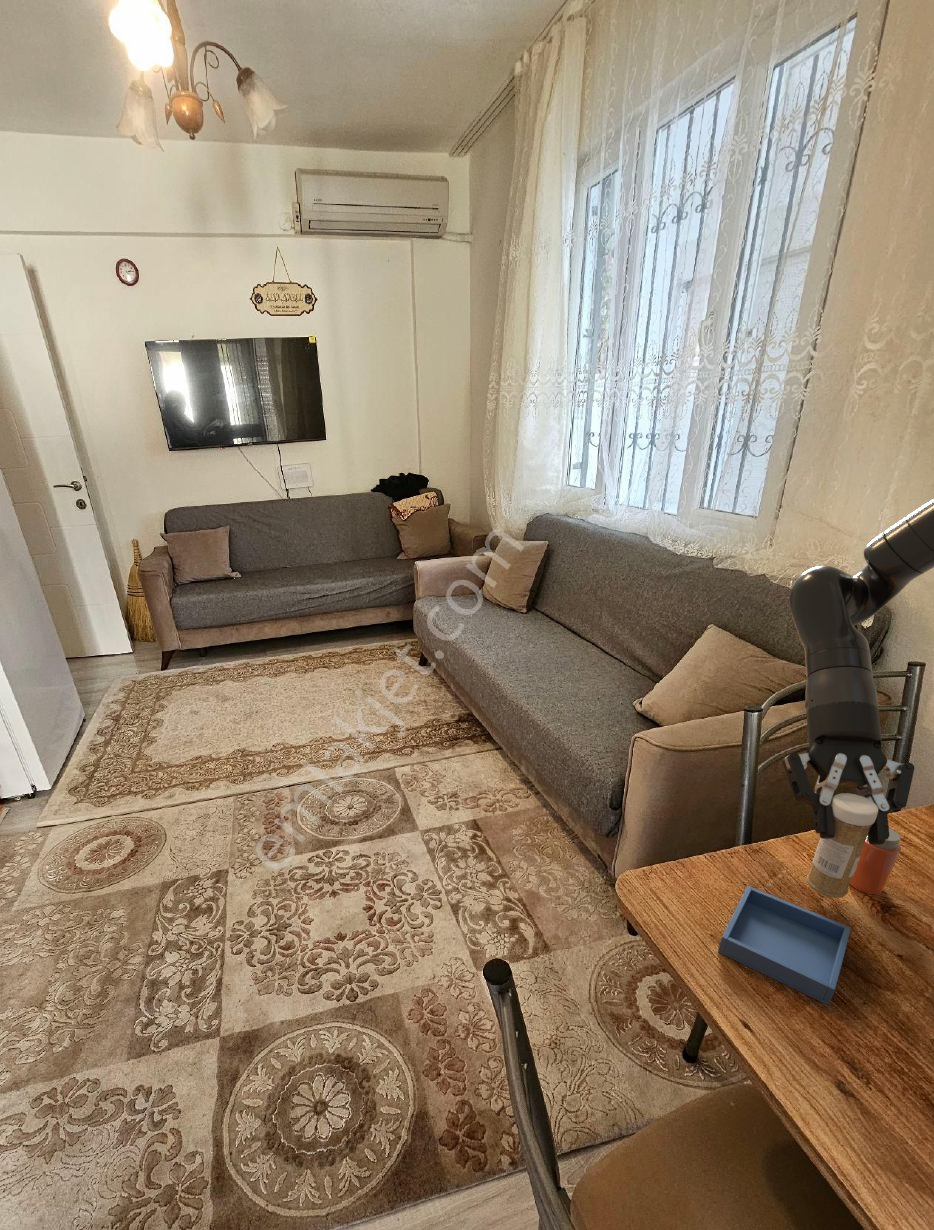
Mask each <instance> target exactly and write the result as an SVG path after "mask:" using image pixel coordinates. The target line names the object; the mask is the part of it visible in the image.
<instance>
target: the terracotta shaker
mask: <svg viewBox="0 0 934 1230" xmlns="http://www.w3.org/2000/svg"><path fill="white" fill-rule="evenodd" d="M901 839H902V837H901V835H900V834H899V833H898V832H897V831H895V830H894V829H891V828H889V838H888V839H886V840H885V842H884V844H880V845H873V844H870V843H869V840H868V836H867V838H866V841H865V844H864V846H863V849H862V852H861V855H860V859H859V862H858V865H857V867H856V870H855V873H854V875H853V876H852V879H851V882H850V884H849V886H851V887H852V888H853V889H855V890H858V891H859V892H862V893H865V894H868V895H880V894H882V893H883V892H884V890H885V888H886V885H887V883H888V880H889V878H890V876H891V873H892V871H893V869H894V866H895V864H896V863H897V859H898V857H899V855H900V852H901V850H902V845H901V844H900V842H901Z"/></svg>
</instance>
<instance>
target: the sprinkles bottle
mask: <svg viewBox="0 0 934 1230" xmlns="http://www.w3.org/2000/svg"><path fill="white" fill-rule="evenodd" d="M829 807H832V808H833V820H834V838H831V839H822V838H821V837H820V838H819V841H818V844H817V846H816V850H815V853H814V856H813V859H812V864H811V867H810V870H809V873H808V874H807V876H806V882H807V885H808V886H809V887H810V889H812V890H813V891H815V892H816V893H818V894H820V895H822V896H824V897H828V898H832V899H833V898H835V899H841V898H844V897H845V896H847V894H848V893H849V887H850V882H851V879H852V876H853V875H854V873H855V870H856V867H857V865H858V862H859V859H860V855H861V852H862V849H863V846H864V844H865V841H866V838H867V836H868V833H869V830H870V827H871V826H872V824H873V823H874V822H875V820H876V817H877V814H878V807H877V805H876V804H875V803H873V802H872V801H871V800H869V799H867V798H865V797H862V796H859V795H858V794H855V793H848V792H842V793H837V794H835V795H833V797H832V800H831V803H830V804H829Z"/></svg>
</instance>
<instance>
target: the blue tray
mask: <svg viewBox="0 0 934 1230" xmlns="http://www.w3.org/2000/svg"><path fill="white" fill-rule="evenodd" d="M851 931H852V927H850V926H849V925H845V924H843V923H841V922H838V921H835V920H833V919H830V918H828V917H826V916H824V915H821V914H819V913H816V912H813V911H812V910H809V909H806V908H804V907H801V906H800V905H799V906H798V905H796V904H795V903H791V902H789V901H787V900H784V899H782V898H779V897H777V896H774V895H772V894H770V893H767V892H765V891H763V890H760V889H757V888H755V887H752V886H750V885H746V888H745V890H744V891H743V894H742V895H741V898H740V899H739V901H738V904H737V905H736V908H735V909H734V912H733V914H732V915H731V918H730V920H729V922H728V924H727V926H726V928H725V930H724V932H723V933H722V935H721V939H720V943H719V946H718V950H717V952H718V953H719V954H721V955H723V956H725V957H727V958H730V959H732V960H734V961H736V962H738V963H740V964H742V965H743V966H746V967H748V968H750V969H752V970H754V971H757V972H759V973H760V974H762V975H764V976H767V977H769V978H771V979H772V980H775V981H777V982H779V983H781V984H783V985H785V986H787V987H789V988H791V989H793V990H795V991H797V992H799V993H802V994H804V995H806V996H808V997H811V999H814V1000H816V1001H818V1002H820V1003H822V1004H824V1005H826V1006H829V1005H830V1004H831V1001H832V999H833V996H834V994H835V992H836V989H837V984H838V982H839V981H838V980H839V977H840V973H841V970H842V965H843V962H844V958H845V954H846V950H847V947H848V943H849V938H850V934H851Z"/></svg>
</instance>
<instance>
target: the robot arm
mask: <svg viewBox="0 0 934 1230" xmlns="http://www.w3.org/2000/svg"><path fill="white" fill-rule="evenodd" d="M863 558H864V561H865V562H866V565H865V566H864V567H863V568H862V569H861V570H860V571H859V572H857V573H856V574H854V575H852V574H850V573H848V572H845V571H844V570H841V568H840V569H839V568H838V567H834V566H831V565H817V566H813V567H811V568H809V569H807V570H805V571H803V572H802V573H801V574H800V575H798V577H797V579H796V580H795V581H794V583H793V585H792V587H791V589H790V593H789V608H790V613H791V618H792V621H793V622H794V627H795V629H796V632H797V635H798V637H799V640H800V642H801V645H802V647H803V649H804V661H805V673H806V674H805V676H806V678H805V679H806V680H805V682H806V683H805V692H804V693H805V695H804V697H805V698H804V699H805V701H804V708H805V713H806V714H805V715H806V730H807V743H808V748H807V750H806V752H805V753H798V752H791V753H790V754H788V755H787V756H785V757H783V758H782V760H781V763H782V766H783V769H784V772H785V774H786V777H787V780H788V783H789V786H790V788H791V790H792V793H793V797H794V799H795V800H796V801H797V802H799V803H804V804H807V805H809V806H810V807H811V808H812V811H813V826H814V831H815V833H816V834H819V837H820V838H822V839H831V838H834V820H833V808H832V807H830V804H831V801H832V799H833V797H834V794H835V791H836V790H837V788H838V786H839V787H840V786H845V787H849V788H854V789H855V792H856V795H859V796H862V797H865V798H867V799H869V800H871V801H872V802H873V803H875V804H876V805H877V807H878V814H877V817H876V820H875V822H874V823H873V824H872V826H871V827H870V830H869V833H868V840H869V843H870V844H873V845H880V844H884V842H885V840H886V839H888V838H889V829H890V828H889V827H890V826H889V817H888V815H889V812H894V811H896V810H901V809H904V808H905V807H906V806H907V804H908V800H909V796H910V792H911V791H910V790H911V786H912V782H913V778H914V774H915V773H914V772H915V765H914V764H913V763H912V762H910V761H907V762H906V761H905V762H904V763H901V762H897V761H895V760H892V759H888V757H887V755H886V754H885V753H884V751H883V749H882V741H883V740H882V729H881V720H880V709H879V701H878V699H879V698H878V692H877V686H876V684H875V680H874V676H873V668H872V658H871V649H870V645H869V641H868V639H867V637H866V636H865V635H864V634H863V633H861V631H859V630H858V629H857V628H856V627H855V626H857V625H860V624H861V623H864V622H866V621H867V620H869V619H871V618H872V617H873V616H875V615H876V614H877V613H878V612H880V611H881V610H882V609H883V608H884V607H885V606H886V605H887V604H889V602H890V601H891V600H893V599H894V598H895V597H896V596H898V595H899V593H901V592H902V591H903V590H904V589H905V587H906V586H907V585H908V584H910V583H911V581H913V580H914V579H916V578H918V577H920V576H922V575H924V574H925V573H927V572H928V571H930V570H932V569H933V568H934V498H932V499H930V500H929V501H927V502H926V503H924V504H922V505H921V506H919V507H918V508H916V509H914V511H912V512H910V513H909V514H907V515H906V516H905V517H903V518H901V519H900V520H899V521H897V522H896V523H894V524H892V525H891V526H889V527H888V528H887V529H885V530H884V531H882V532H881V533H879V534H878V535H876V536H875V537H874V538H873V539H871V540H870V541H868V543H867V544H866V545H865V547H864V549H863ZM808 764H809V765H810V766H811V767H812V769H813V770H814V771H815V772H816V773H817V775H818V776H817V779H816V782H815V785H814V790H813V788H812V785H811V783H810V780H809V777H808V774H807V772H806V769H808ZM883 769H884V771H885V777H886V778H887V779H889V780H888V784H887V788H886V793H885V794H884V786H883V784H882V782H881V780H880V778H879V776H878V775H879V774H880V773H881V771H882V770H883Z"/></svg>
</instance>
